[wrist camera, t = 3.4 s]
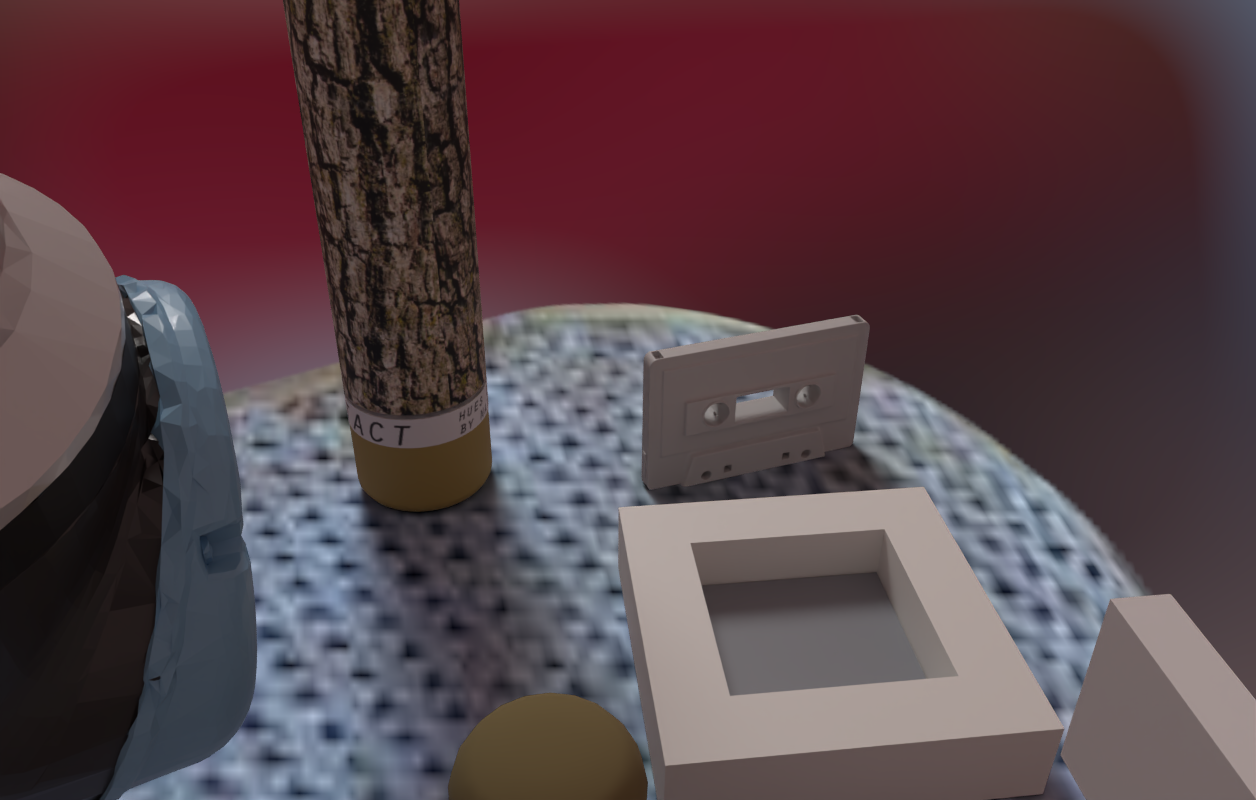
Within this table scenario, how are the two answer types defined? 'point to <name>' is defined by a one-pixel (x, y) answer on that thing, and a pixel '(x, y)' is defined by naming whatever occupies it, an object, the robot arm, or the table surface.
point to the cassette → (751, 401)
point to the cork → (549, 754)
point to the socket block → (824, 654)
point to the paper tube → (398, 239)
